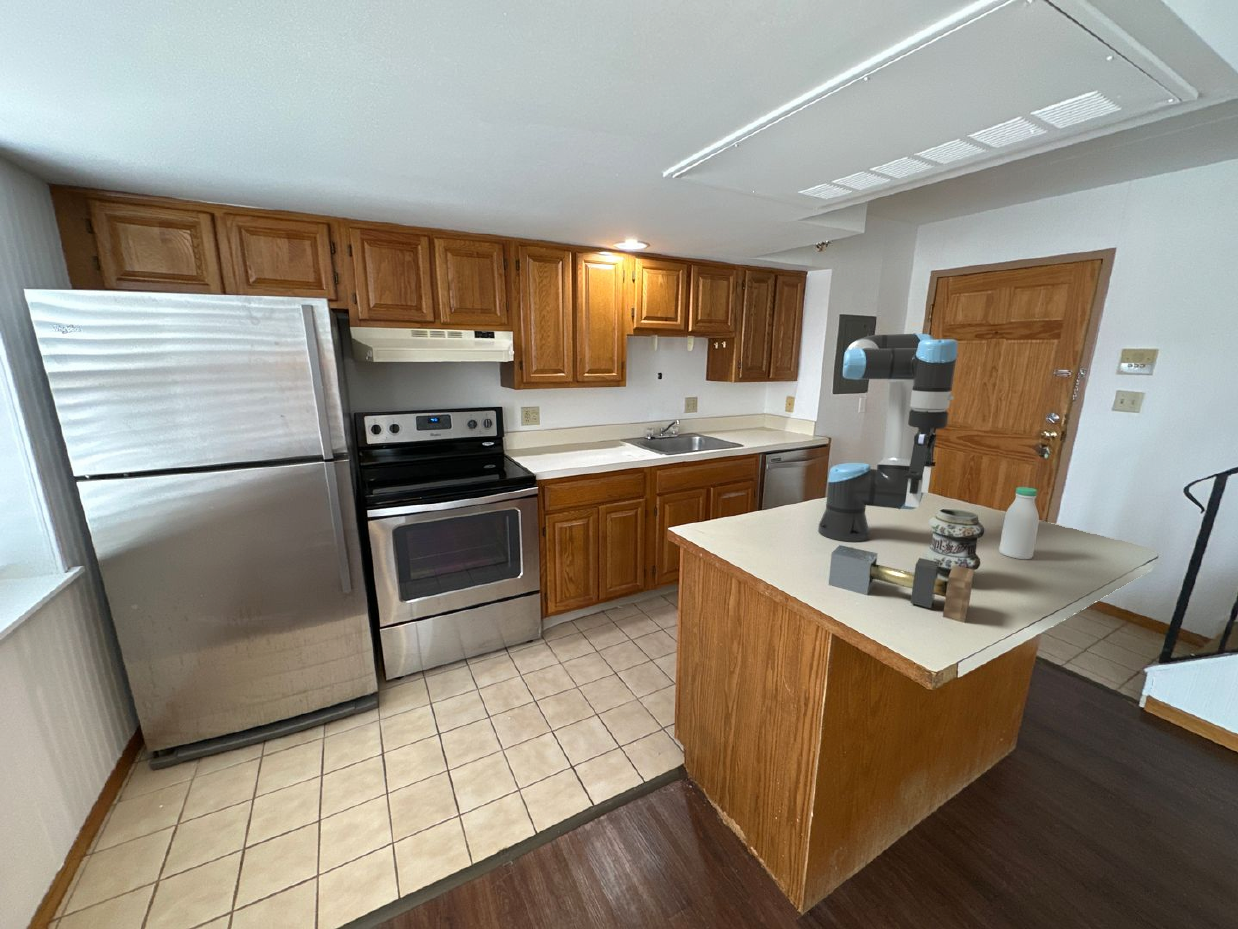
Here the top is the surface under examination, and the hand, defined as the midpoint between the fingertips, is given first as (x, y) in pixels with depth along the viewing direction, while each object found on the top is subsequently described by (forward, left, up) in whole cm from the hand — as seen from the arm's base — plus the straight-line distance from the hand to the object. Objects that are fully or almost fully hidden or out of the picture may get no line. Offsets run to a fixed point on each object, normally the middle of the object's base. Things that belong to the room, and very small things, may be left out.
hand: (916, 499), depth 115 cm
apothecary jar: (+7, +15, -24) cm, 29 cm away
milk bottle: (+20, +46, -24) cm, 56 cm away
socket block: (+11, -5, -23) cm, 26 cm away
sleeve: (-11, -5, -23) cm, 26 cm away
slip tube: (+1, -5, -23) cm, 24 cm away
